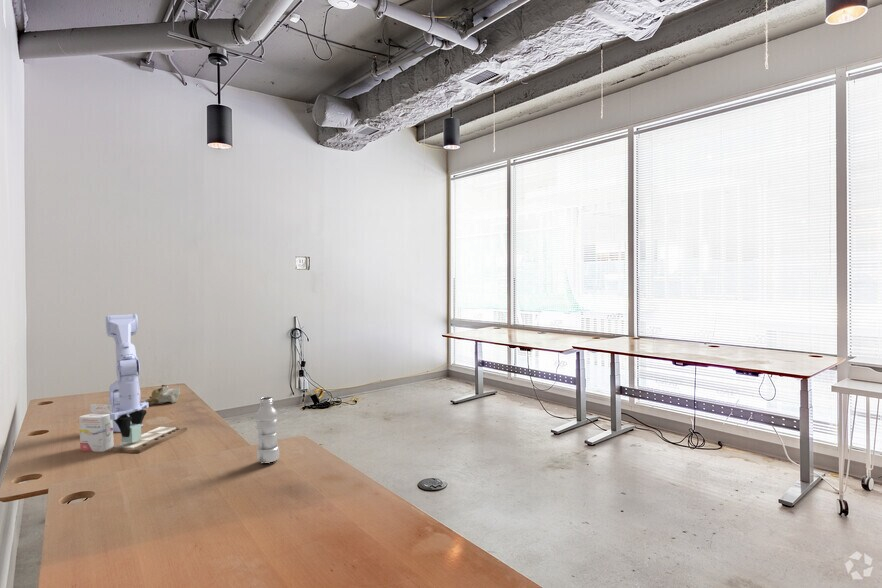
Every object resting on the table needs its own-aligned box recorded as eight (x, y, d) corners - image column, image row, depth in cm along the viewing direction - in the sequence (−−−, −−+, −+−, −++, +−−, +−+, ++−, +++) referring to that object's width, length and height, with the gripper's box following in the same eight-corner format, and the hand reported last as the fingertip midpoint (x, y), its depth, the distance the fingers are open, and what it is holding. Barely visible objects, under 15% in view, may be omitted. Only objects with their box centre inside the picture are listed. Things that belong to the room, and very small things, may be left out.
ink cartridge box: (79, 451, 163) (77, 407, 162) (91, 446, 168) (89, 403, 167) (103, 452, 162) (101, 408, 161) (114, 446, 167) (112, 404, 166)
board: (110, 451, 162) (110, 447, 162) (160, 429, 185) (160, 425, 185) (139, 453, 160) (139, 449, 160) (187, 430, 183) (186, 426, 183)
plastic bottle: (284, 459, 153) (282, 396, 152) (268, 468, 147) (266, 402, 146) (268, 456, 156) (266, 394, 155) (252, 464, 150) (250, 400, 149)
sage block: (121, 442, 164) (121, 427, 164) (131, 437, 168) (130, 423, 168) (132, 442, 164) (131, 427, 163) (141, 438, 168) (140, 424, 167)
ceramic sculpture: (175, 385, 218) (138, 389, 215) (177, 404, 218) (140, 409, 215) (183, 380, 228) (148, 384, 225) (185, 399, 229) (150, 402, 226)
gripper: (122, 401, 157) (124, 442, 158) (155, 389, 172) (157, 427, 172) (103, 400, 158) (105, 441, 159) (137, 389, 173) (139, 427, 173)
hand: (131, 434), depth 166 cm, fingers closed on sage block, 4 cm apart
